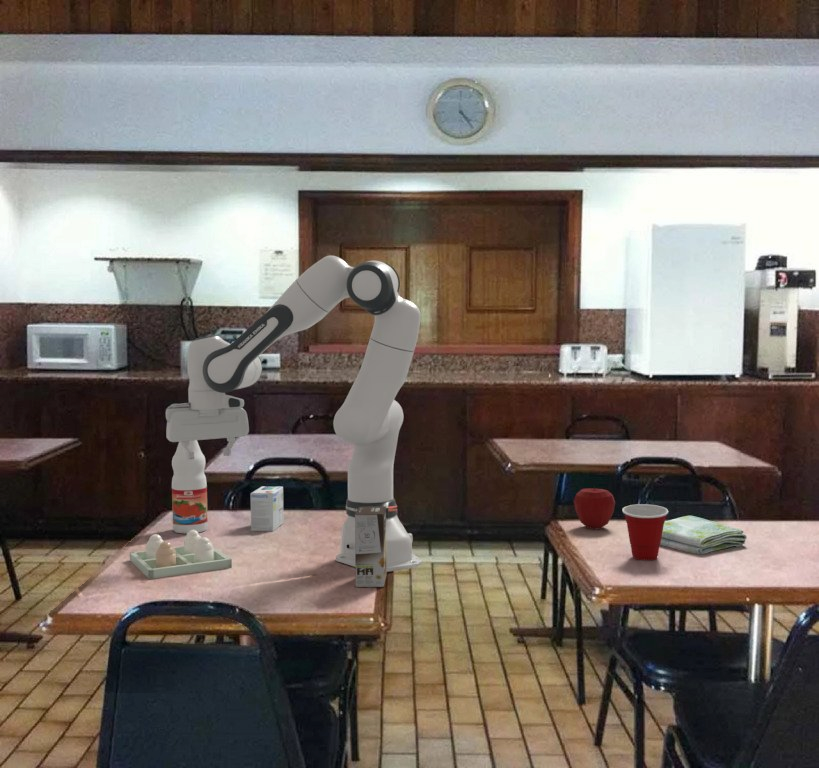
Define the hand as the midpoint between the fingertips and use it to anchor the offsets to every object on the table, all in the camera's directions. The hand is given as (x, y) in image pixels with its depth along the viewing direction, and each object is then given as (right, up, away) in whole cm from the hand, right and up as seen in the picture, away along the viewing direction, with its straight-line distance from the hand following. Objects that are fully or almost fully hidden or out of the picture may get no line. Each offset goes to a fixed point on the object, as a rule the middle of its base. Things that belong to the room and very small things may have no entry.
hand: (208, 457), depth 234 cm
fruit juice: (-11, -23, +28) cm, 37 cm away
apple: (+101, -22, +26) cm, 106 cm away
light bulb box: (+10, -22, +31) cm, 39 cm away
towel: (+122, -23, +9) cm, 125 cm away
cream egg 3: (+2, -24, -13) cm, 28 cm away
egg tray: (-5, -25, -11) cm, 28 cm away
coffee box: (+41, -26, -26) cm, 55 cm away
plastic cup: (+106, -24, -7) cm, 109 cm away
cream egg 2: (-3, -24, -5) cm, 25 cm away
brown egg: (-6, -25, -17) cm, 31 cm away
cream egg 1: (-11, -24, -9) cm, 28 cm away
